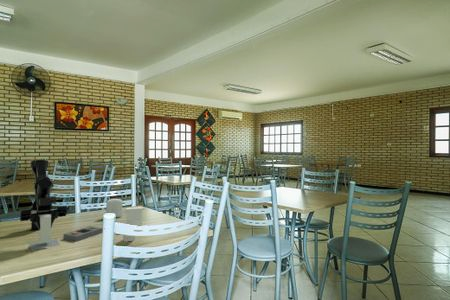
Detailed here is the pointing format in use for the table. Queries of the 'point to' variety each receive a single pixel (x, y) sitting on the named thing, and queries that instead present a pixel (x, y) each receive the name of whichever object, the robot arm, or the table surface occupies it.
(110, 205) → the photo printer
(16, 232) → the table surface
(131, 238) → the shot glass
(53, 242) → the mat
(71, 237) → the power strip
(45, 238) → the block
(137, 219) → the base with upright slab
